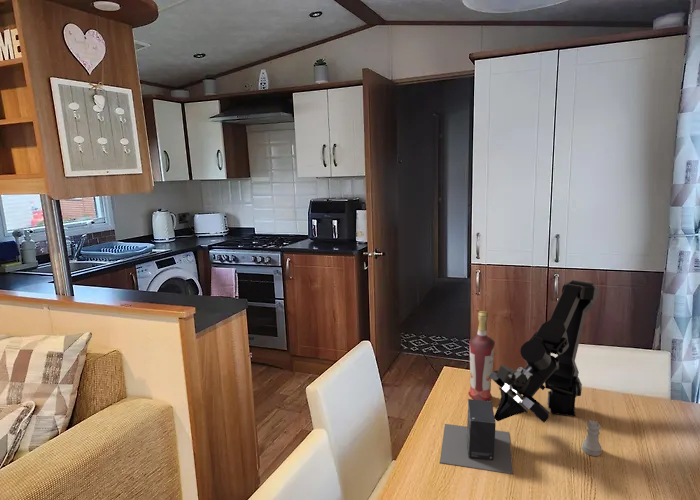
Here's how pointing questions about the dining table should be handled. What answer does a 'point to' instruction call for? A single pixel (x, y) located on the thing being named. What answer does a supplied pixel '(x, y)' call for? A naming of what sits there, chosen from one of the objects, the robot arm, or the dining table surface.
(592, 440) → the rook chess piece
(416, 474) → the dining table surface
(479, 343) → the liquor
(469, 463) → the mat
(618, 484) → the dining table surface
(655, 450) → the dining table surface
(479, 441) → the small box
